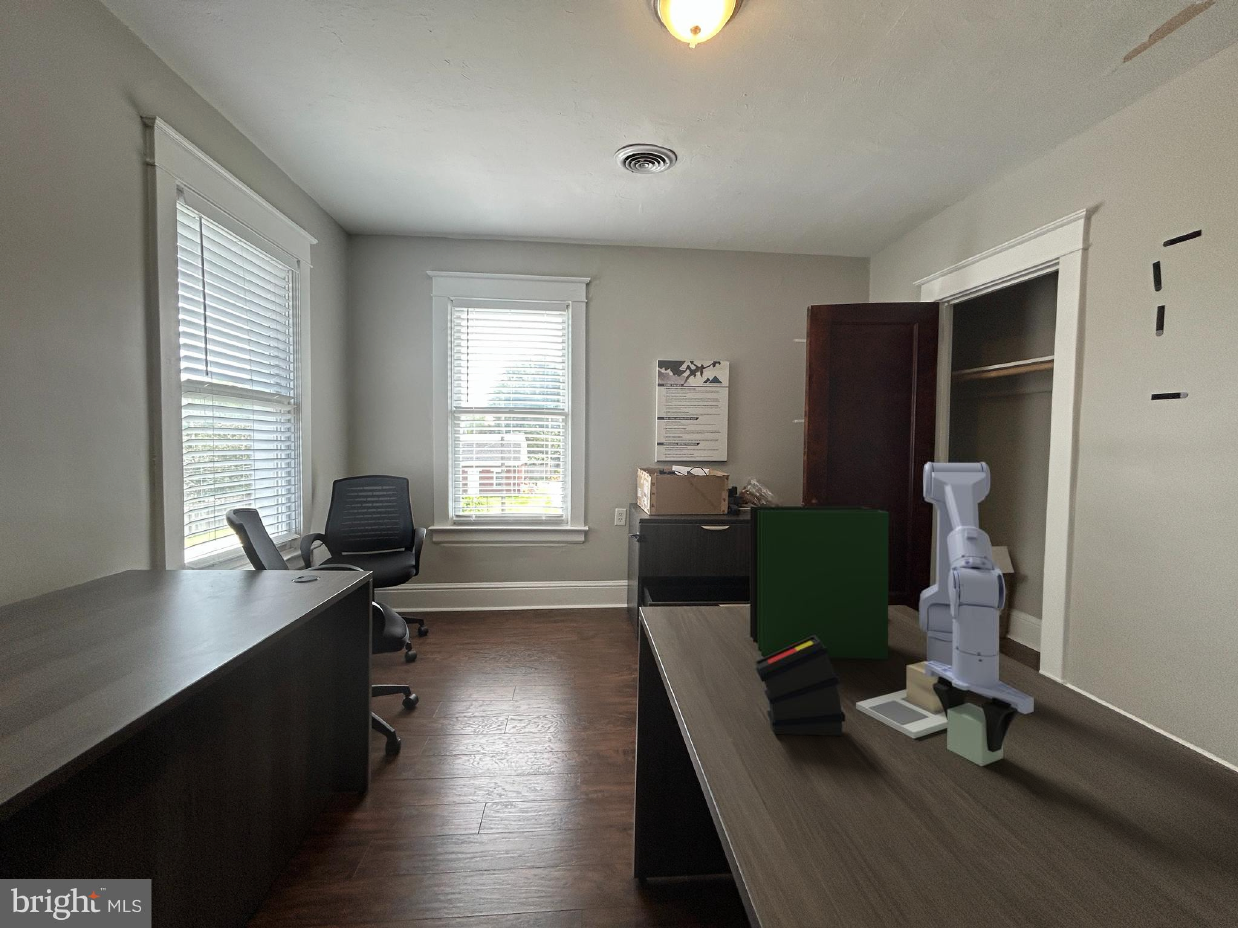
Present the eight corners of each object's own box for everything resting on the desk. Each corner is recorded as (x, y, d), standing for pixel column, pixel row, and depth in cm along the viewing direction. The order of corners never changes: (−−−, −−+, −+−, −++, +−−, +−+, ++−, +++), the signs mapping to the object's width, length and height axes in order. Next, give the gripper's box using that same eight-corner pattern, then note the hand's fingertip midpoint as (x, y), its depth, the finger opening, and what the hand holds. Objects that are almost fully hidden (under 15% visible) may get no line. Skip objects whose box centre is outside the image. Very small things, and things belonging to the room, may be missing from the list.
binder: (762, 656, 117) (762, 512, 117) (748, 634, 132) (749, 505, 132) (888, 658, 116) (888, 512, 115) (860, 635, 131) (860, 506, 130)
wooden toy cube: (925, 694, 96) (925, 661, 96) (952, 705, 91) (952, 671, 91) (906, 699, 94) (906, 665, 94) (933, 711, 89) (933, 676, 89)
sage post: (968, 741, 82) (968, 702, 82) (1002, 757, 78) (1003, 717, 78) (947, 748, 80) (947, 709, 80) (981, 766, 76) (981, 724, 76)
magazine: (865, 727, 83) (823, 641, 83) (787, 761, 84) (746, 675, 84) (855, 715, 87) (815, 633, 87) (781, 748, 88) (742, 666, 88)
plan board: (914, 692, 99) (914, 686, 99) (974, 718, 89) (974, 712, 89) (856, 708, 93) (856, 702, 93) (913, 738, 83) (913, 731, 83)
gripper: (912, 637, 84) (911, 723, 84) (1012, 671, 70) (1011, 773, 71) (941, 631, 87) (941, 714, 87) (1042, 662, 73) (1042, 760, 74)
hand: (974, 740), depth 79 cm, fingers closed on sage post, 5 cm apart
